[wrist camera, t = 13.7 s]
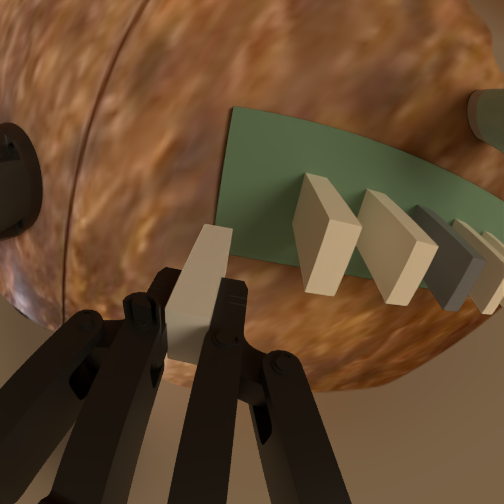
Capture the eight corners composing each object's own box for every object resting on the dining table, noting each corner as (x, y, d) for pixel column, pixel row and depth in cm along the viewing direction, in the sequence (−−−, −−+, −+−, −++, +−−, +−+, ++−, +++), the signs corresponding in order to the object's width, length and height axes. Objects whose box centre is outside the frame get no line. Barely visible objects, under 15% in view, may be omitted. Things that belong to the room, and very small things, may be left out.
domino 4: (467, 264, 27) (508, 315, 18) (483, 230, 24) (532, 276, 16) (475, 266, 27) (515, 316, 18) (491, 233, 24) (538, 279, 16)
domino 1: (292, 223, 25) (304, 291, 17) (305, 172, 23) (329, 219, 14) (312, 227, 26) (334, 296, 17) (326, 177, 23) (362, 226, 14)
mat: (212, 249, 28) (211, 251, 27) (234, 106, 21) (233, 106, 20) (484, 296, 30) (485, 297, 29) (524, 215, 23) (526, 216, 22)
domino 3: (437, 256, 26) (481, 313, 18) (455, 218, 24) (508, 268, 15) (448, 259, 26) (491, 314, 18) (465, 222, 24) (517, 271, 15)
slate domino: (399, 247, 26) (443, 310, 17) (417, 204, 24) (473, 257, 15) (413, 250, 26) (457, 311, 18) (431, 209, 24) (487, 261, 15)
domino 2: (350, 235, 26) (385, 303, 17) (367, 188, 23) (416, 240, 15) (368, 239, 26) (407, 305, 17) (384, 193, 23) (438, 246, 15)
